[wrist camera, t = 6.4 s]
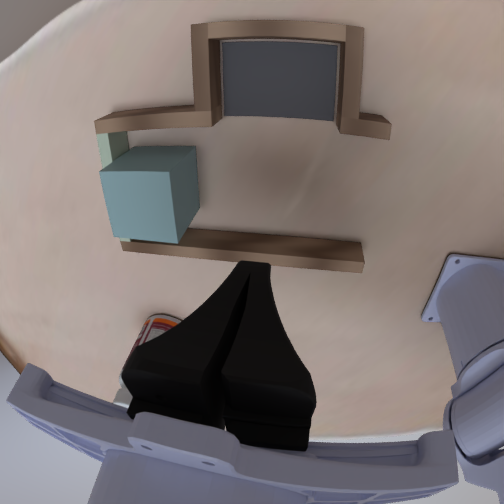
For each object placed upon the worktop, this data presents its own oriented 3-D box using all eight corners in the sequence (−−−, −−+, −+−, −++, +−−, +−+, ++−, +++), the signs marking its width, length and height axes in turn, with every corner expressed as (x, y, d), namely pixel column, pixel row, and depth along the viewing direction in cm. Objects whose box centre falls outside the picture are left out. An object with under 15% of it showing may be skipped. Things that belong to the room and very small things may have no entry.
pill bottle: (164, 348, 37) (133, 427, 28) (136, 315, 34) (94, 397, 25) (206, 345, 35) (178, 433, 26) (179, 309, 32) (139, 403, 23)
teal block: (196, 145, 21) (169, 171, 17) (200, 207, 24) (177, 243, 20) (134, 146, 22) (99, 171, 18) (143, 203, 25) (114, 236, 21)
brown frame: (387, 36, 14) (398, 34, 12) (358, 253, 24) (361, 273, 22) (106, 44, 17) (85, 46, 15) (135, 234, 26) (123, 250, 25)
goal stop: (125, 123, 20) (107, 133, 18) (143, 225, 26) (130, 241, 24) (114, 124, 21) (96, 134, 19) (133, 224, 26) (120, 240, 24)
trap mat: (337, 45, 15) (337, 45, 15) (333, 120, 18) (333, 121, 18) (222, 42, 16) (222, 42, 16) (224, 115, 19) (224, 115, 19)
